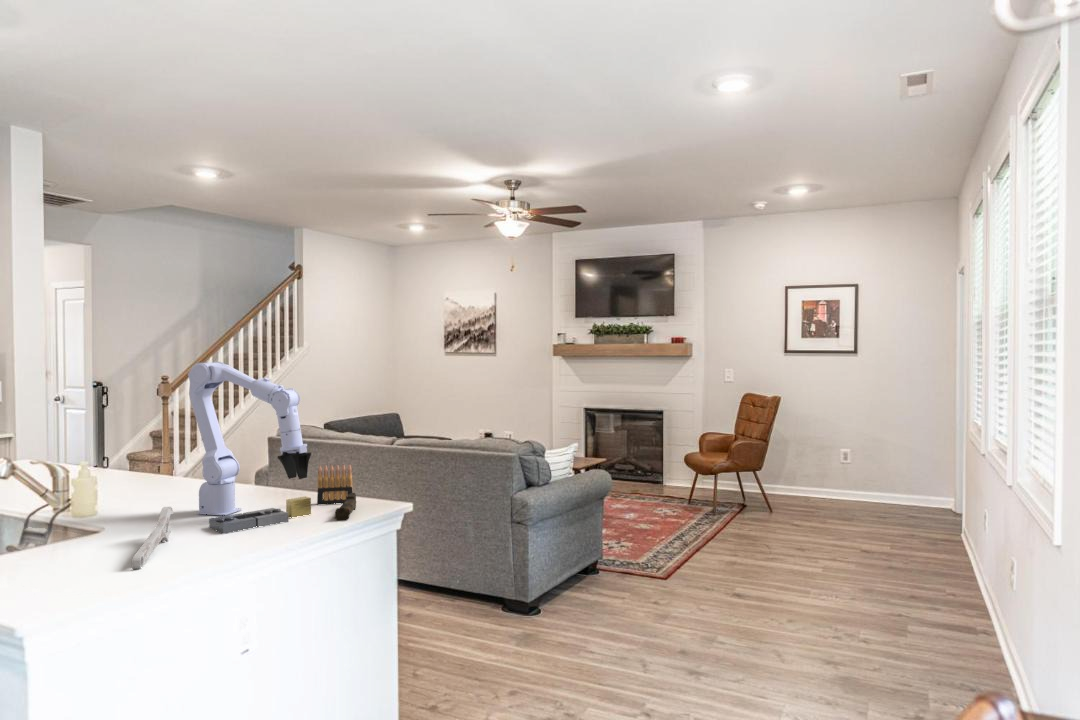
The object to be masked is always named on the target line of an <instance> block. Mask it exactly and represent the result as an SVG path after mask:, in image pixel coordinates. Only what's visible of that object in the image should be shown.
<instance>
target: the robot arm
mask: <svg viewBox="0 0 1080 720" xmlns="http://www.w3.org/2000/svg"><path fill="white" fill-rule="evenodd" d="M187 377H188V379H189V389H188V395H189V400H190V403H191V407H192V410H193V414H194V418H195V420H196V424H197V427H198V429H199V433H200V436H201V441H202V444H203V446H204V449H205V450H204V451H205V454H204V456H203V458H202V459H201V463H202V472H201V473H202V477H203V479H204V481H205V482H203V483H202V484H201V485H200V486H199V489H198V511H197V512H196V514H197V515H206V514H207V516H208V515H209V516H222V515H223V516H224V515H225V516H228V515H232V514H234V513H236V512H239V511H242V509H243V508H241V507H236V482H235V481H236V477H237V476H238V474H239V473H240V470H241V469H240V468H241V466H240V463H239V461H238V460H237V459H236V457H235V455H234V454H233V453H234V452H233V451H232V450H231V449H229V448H228V447H226V443H225V440H224V437H223V433H222V430H221V427H220V422H219V420H218V416H217V412H216V409H215V405H214V403H213V400H212V395H213V394H214V391H215V390H216V389H217V388H218V387H220V385H222V384H223V383H224V382H225V381H226V382H230V383H232V384H234V385H236V386H240V387H242V388H244V389H247V390H250V393H251V396H252V397H253V398H254V397H255V398H257V399H259V400H261V401H262V402H265V403H268V404H270V405H271V407H272V408H273V409H274V411H275V412H276V413H275V414H276V416H277V421H278V429H279V436H280V443H281V447H279V450H280V454H281V455H279V456H277V459H278V460H279V462H280V463H281V465H282V466H283V468H284V471H285V474H286V476H287V477H288V479H294V478H298V480H302V479H303V480H304V479H306V478H308V471H309V462H310V458H311V456H312V452H310V451H309V452H308V448H307V447H308V443H303V442H304V441H303V435H302V429H301V428H302V427H301V423H300V422H301V421H300V417H299V410H298V405H299V404H300V402H301V401H300V394H299V393H298V392H297V391H296V390H295V389H293V388H286V389H285V388H284V387H285V386H284V385H282V384H280V385H279V384H276V383H274V382H272V381H271V379H270V378H268V377H264V378H262V377H259V378H257V379H256V378H253V377H252V376H249V375H248V374H246V373H244V372H242V371H240V370H238V369H237V368H234V367H232V366H231V365H230V364H225V363H223V362H221V361H214V362H197V363H195V364H194V365H193V366H192V367H191V368H190V370H189V371H188V373H187Z"/></svg>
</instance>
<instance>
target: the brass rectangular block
mask: <svg viewBox="0 0 1080 720" xmlns="http://www.w3.org/2000/svg"><path fill="white" fill-rule="evenodd" d="M285 501H286V502H285V503H286V505H285V507H286V508H285V509H286V511H285V512H287V513H288V517H291V518H292V517H297V516H303V515H309V514H311V515H312V498H311V497H308V496H300V497H295V498H289V499H285ZM309 516H310V515H309ZM303 517H304V516H303ZM291 518H290V519H291ZM292 519H293V518H292Z"/></svg>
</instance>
